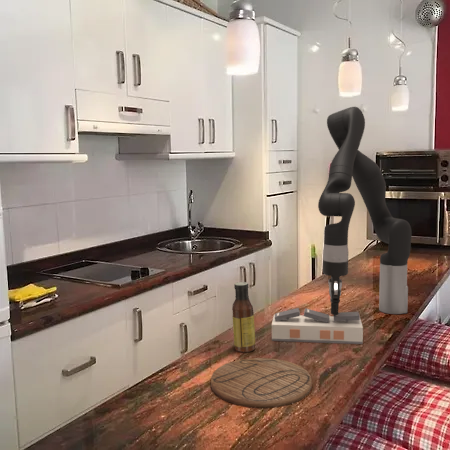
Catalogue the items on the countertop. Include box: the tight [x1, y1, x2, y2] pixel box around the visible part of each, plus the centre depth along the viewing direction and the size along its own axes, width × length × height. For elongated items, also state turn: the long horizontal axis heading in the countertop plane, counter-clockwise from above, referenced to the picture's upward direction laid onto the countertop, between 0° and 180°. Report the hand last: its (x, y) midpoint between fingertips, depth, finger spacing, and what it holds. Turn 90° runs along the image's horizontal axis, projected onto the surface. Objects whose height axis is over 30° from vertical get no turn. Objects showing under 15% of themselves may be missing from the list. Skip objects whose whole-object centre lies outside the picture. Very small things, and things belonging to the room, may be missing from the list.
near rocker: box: [332, 311, 361, 322], centre depth 159 cm, size 8×4×2 cm, turn 80°
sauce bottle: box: [232, 281, 256, 353], centre depth 151 cm, size 6×6×20 cm
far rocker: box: [274, 307, 301, 321], centre depth 162 cm, size 8×4×2 cm, turn 80°
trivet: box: [210, 357, 312, 409], centre depth 130 cm, size 25×25×2 cm
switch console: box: [271, 314, 364, 345], centre depth 161 cm, size 27×10×5 cm, turn 81°
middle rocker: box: [303, 308, 330, 323], centre depth 161 cm, size 8×4×2 cm, turn 81°
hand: (334, 313), depth 160 cm, fingers closed
